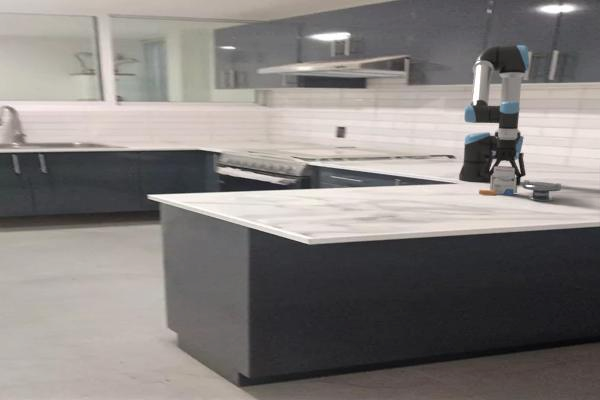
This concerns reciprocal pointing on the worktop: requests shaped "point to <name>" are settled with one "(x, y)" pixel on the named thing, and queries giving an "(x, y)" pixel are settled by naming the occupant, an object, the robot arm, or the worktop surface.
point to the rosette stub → (541, 190)
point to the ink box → (503, 180)
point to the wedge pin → (486, 192)
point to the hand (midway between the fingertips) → (503, 191)
